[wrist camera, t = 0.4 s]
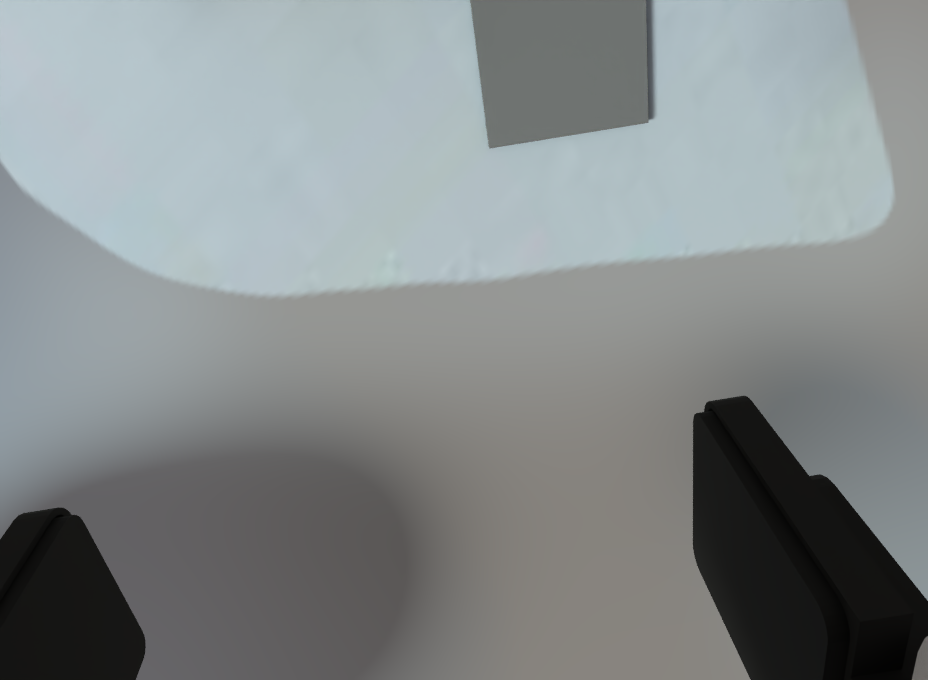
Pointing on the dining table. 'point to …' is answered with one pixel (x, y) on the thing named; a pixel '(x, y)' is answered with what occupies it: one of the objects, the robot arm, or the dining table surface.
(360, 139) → the dining table surface
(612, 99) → the pad
